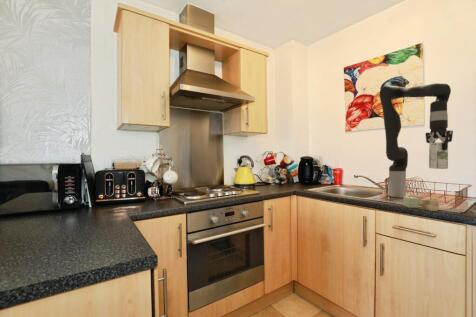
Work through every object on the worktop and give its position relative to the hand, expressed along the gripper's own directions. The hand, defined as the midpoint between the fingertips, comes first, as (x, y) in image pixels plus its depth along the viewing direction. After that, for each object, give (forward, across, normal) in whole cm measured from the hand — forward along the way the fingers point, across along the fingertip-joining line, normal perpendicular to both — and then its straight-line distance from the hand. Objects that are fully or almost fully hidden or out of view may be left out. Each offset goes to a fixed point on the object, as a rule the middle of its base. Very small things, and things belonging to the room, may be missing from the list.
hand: (438, 150), depth 125 cm
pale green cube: (+31, -4, -10) cm, 32 cm away
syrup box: (+10, 0, 0) cm, 10 cm away
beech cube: (+31, +8, -13) cm, 34 cm away
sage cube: (+31, +1, -17) cm, 35 cm away
